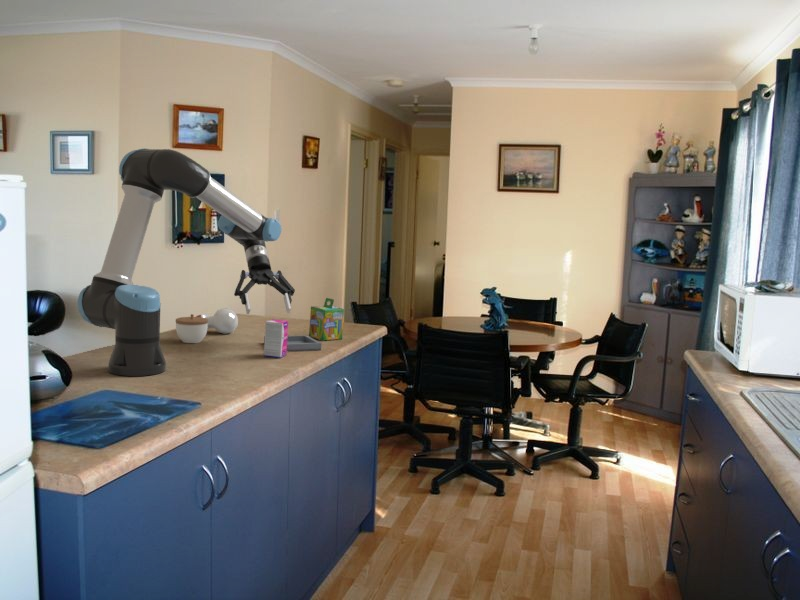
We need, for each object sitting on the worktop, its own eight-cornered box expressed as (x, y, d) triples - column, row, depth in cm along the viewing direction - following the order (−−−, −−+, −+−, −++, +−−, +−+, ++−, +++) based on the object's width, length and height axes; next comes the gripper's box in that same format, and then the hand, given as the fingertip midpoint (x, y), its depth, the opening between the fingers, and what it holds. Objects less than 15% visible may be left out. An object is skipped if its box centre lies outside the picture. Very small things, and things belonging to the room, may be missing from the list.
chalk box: (308, 337, 270) (309, 297, 268) (328, 335, 276) (330, 296, 274) (323, 341, 263) (324, 300, 261) (343, 339, 269) (345, 299, 267)
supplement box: (281, 358, 230) (282, 322, 229) (263, 357, 231) (264, 321, 230) (287, 355, 236) (288, 320, 234) (270, 353, 237) (271, 318, 235)
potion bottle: (238, 338, 267) (199, 340, 269) (244, 320, 274) (206, 322, 276) (231, 320, 261) (191, 322, 263) (237, 302, 268) (198, 304, 270)
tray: (276, 351, 240) (277, 344, 240) (264, 343, 254) (264, 336, 253) (321, 350, 247) (321, 343, 247) (306, 341, 261) (306, 335, 260)
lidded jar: (169, 342, 246) (169, 315, 245) (185, 337, 256) (186, 311, 255) (197, 345, 244) (198, 317, 242) (213, 340, 254) (214, 313, 253)
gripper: (223, 253, 243) (233, 304, 232) (295, 255, 254) (308, 303, 243) (219, 268, 248) (229, 318, 237) (290, 268, 259) (302, 317, 248)
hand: (269, 311), depth 240 cm, fingers open, 13 cm apart
